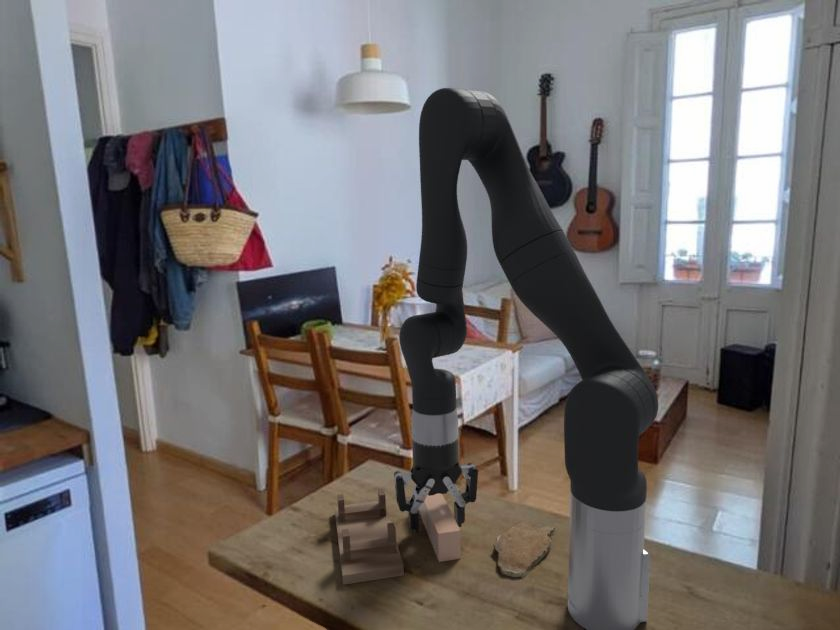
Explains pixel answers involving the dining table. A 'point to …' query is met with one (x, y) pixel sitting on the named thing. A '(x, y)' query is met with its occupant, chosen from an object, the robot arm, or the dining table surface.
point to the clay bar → (441, 528)
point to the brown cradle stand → (367, 541)
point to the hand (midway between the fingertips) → (437, 527)
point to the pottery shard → (522, 547)
